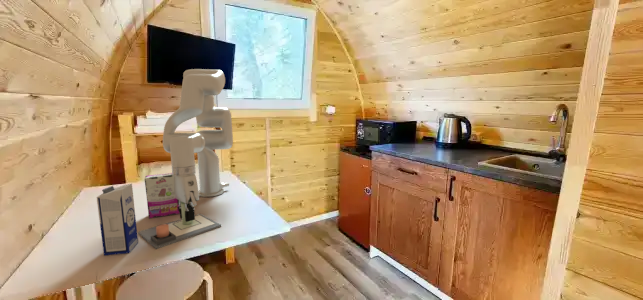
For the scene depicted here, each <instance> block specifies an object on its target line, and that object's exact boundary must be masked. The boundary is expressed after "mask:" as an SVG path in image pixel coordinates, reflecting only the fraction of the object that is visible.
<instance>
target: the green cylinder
mask: <svg viewBox="0 0 643 300" xmlns="http://www.w3.org/2000/svg"><path fill="white" fill-rule="evenodd" d="M188 202H190V200H189V201H188ZM180 203H181V212H182V224H183V225H190V224H192V223H193V220H192V221H188V222H186V221H185V211H186V208H185V203H184V202H182V201H180ZM189 205H190V204H188V206H189Z"/></svg>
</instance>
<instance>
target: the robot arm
mask: <svg viewBox="0 0 643 300" xmlns="http://www.w3.org/2000/svg"><path fill="white" fill-rule="evenodd" d="M182 74H183V75H182V77H183V79H182V86H181V93H180V101H179V107H178V109H176V110H175V111H174V112H173V113H171V115H170V116H169V118H168V119H167V120H166V121H165V124H164V127H163V135H162V146H163V149H164V151H165V152H166V153H169V154H170V161H171V163H170V164H171V171H172V172H171V173H172V176H174V193H175V198H176V199H178V202H179V209H180V213H179V218H180V219H182V212H181V203H180V201H182V202H184V203H185V208H186V211H185V221H186V222H188V221H192V220H194V219H195V215H196V213H195V210H196V209H195V207H196V206H197V205H198V204H197V202H198V201H199V200H200V197H202V198H206V197H207V198H210V197H211V198H212V197H215V196H217V197H218V196H220V195H222V194H223V193H224V191H225V190H224V188H225V187H229V186H230V183H229V182H225V183H224V182H221V178H220V177H221V176H220V175H221V173H220V160H219V159H220V158H219V157H218V154H217V153H216V152H215V150H229V149H231V148H232V147H233V144H234V143H233V142H234V137H233V134H234V133H233V120H232V119H233V118H232V114H231V111H230V109H229V108H227V107H222V106H221V107H219V106H218V107H217V106H215V98H214V96H218V95H219V94H221V93H222V91H223V89H224V87H225V86H226V85H225V84H226V77H225V74H224V72H223V71H222V70H221V69H209V68H207V69H206V68H205V69H204V68H203V69H202V68H194V69H193V68H191V69H186V70H185V71H184V72H183V73H182ZM194 118H195V121H196V124H197V126H198V127H201V128H221V129H202V130H199V131H197V132H176V130H177V128H178V127H179V126H180V125H181V124H183V123H185V122H187V121H189V120H191V119H194ZM196 153H197V167H198V179H199V181H197V175H196V163H195V162H196V160H195V159H196V158H195V154H196ZM198 182H199V183H198ZM198 185H199V187H198ZM189 200H190V202H188V201H189ZM188 204H190V205H189V206H188Z"/></svg>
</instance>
